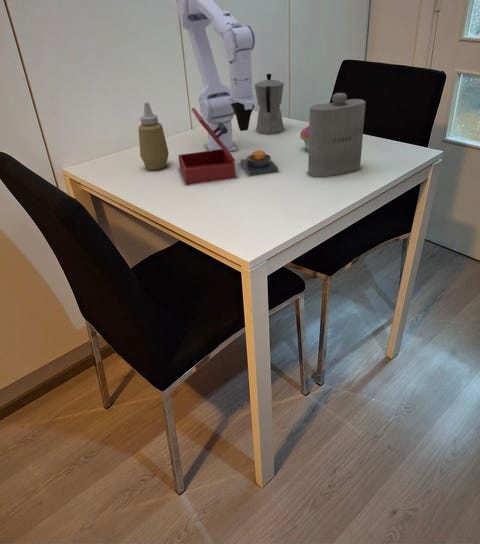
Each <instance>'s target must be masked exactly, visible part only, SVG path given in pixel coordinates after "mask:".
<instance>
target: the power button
mask: <svg viewBox="0 0 480 544" xmlns="http://www.w3.org/2000/svg"><path fill="white" fill-rule="evenodd" d="M265 154H266V152H265V151H264V150H254V151H252V152H251V155H252V159H253V160H263V159H265Z"/></svg>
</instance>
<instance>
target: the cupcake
mask: <svg viewBox="0 0 480 544" xmlns="http://www.w3.org/2000/svg"><path fill="white" fill-rule="evenodd" d="M299 134H300V137H299V138H300V140H303V142H304V144H305V148H306V151H307V152H309V125H308V126H305V128H303V129H302V130H301V132H300V133H299Z"/></svg>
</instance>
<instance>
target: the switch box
mask: <svg viewBox="0 0 480 544" xmlns="http://www.w3.org/2000/svg"><path fill="white" fill-rule="evenodd" d="M271 157H272V156H271V155H269V154H267V153H265V159H263V160H253V159H252V154H249V155H247V157H246V158H244V159H240V164H241V166H242V168H243V169H244V170H245V172H246V173H247V174H248V176H249V177H252V176H253V177H254V176H259V175H265V174H272V173H278V172H279V167H278V166H277V165H276V164H275V163H274V162H273V160H272V159H271Z"/></svg>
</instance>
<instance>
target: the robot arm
mask: <svg viewBox="0 0 480 544" xmlns="http://www.w3.org/2000/svg"><path fill="white" fill-rule="evenodd" d="M216 1H217V0H176V10H177V14H178V17H179V22H180V24H181V27H182V28H183V29H185V30H187V34H188V36H189V39H190V43H191V47H192V50H193V53H194V57H195V60H196V63H197V67H198V70H199V74H200V76H201V80H202V84H203V86H204V89H203V90H202V91H201V93H200V94H199V96H198V104H199V111H200V116H201V117H202V118H203V119H204V121H205V122H206V123H207V124H208V125H209V127H210V128H211V129H212V130H213V131H214V130H215V129H216V128H217V127H218V124H219V123H223V124H224V125H225V127H226V128H227V130H228V132H227V133H226V134H222V135H221V136H220V137H219V139H220V140H221V141H222V142H223V143H224V145H225V146H226V147H227V149H228V150H229V152H235V151H237V150H238V149H237V147H236V146H235V145H234V142H233V141H234V140H233V127H232V120H233V119H234V116H235V118H236V121H237V122H236V123H237V126H238V129H239V131H240V132H245V131H249V127H250V121H251V116H252V113H253V111H254V109H255V104H254V101H253V100H254V94H253V93H254V92H253V91H254V90H253V68H252V51H253V50H254V48H255V46H256V35H255V32H254V29H253V28H252V26H251V25H249V24H248V25H242V24H241V23H240V22H239V20H237V19H236V18H235V16H233V15H232V14H231V12H230V11H229V10H222V9H221V8H220V6H219V5H218V3H217V2H216ZM211 24H212V28H213V30H214V32H215V33H216V34H217V35H218V36H219V37H220V38H221V39H222V40H223V46H224V50H225V52H226V53H225V54H226V59H227V61H228V65H229V81H230V87H229V86H226V85H225V84H223V83H222V82H221V79H220V76H219V72H218V69H217V65H216V62H215V58H214V55H213V52H212V48H211V47H212V46H211V44H210V41H209V37H208V33H207V27H208V26H210V25H211ZM220 132H221V130H219V131H218V132H217V133H216V135H217V134H218V133H220ZM207 139H208V142H206V143H205V146H206V147H207V149H208V151H212V150H219V149H222V148H221V147H220V146H219V145H218V144H217V142H216V141H215V140H214V139H213V138H212V136H211V135H210V134H209V133H208V132H207Z"/></svg>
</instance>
